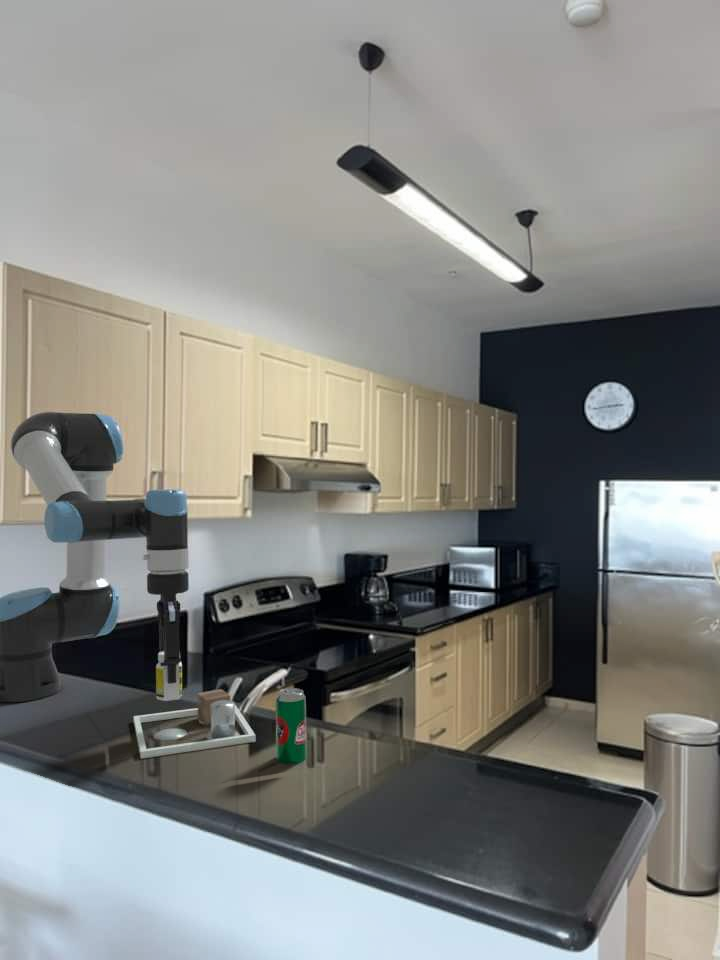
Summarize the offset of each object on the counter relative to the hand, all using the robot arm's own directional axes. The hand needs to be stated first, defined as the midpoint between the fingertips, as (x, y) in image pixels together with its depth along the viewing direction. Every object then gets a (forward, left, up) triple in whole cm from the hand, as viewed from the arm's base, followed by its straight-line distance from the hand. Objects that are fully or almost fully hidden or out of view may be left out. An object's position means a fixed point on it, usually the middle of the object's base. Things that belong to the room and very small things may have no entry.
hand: (170, 695), depth 134 cm
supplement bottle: (0, 0, -1) cm, 1 cm away
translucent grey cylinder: (+5, +9, -7) cm, 13 cm away
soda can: (+20, +18, -8) cm, 28 cm away
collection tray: (0, +4, -8) cm, 9 cm away
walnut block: (-5, +9, -7) cm, 13 cm away
